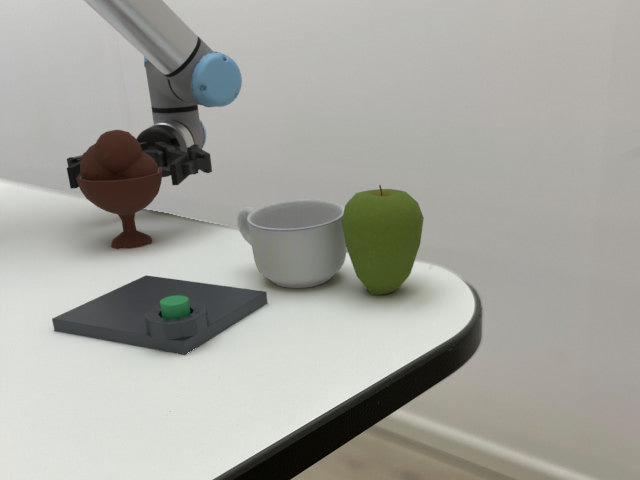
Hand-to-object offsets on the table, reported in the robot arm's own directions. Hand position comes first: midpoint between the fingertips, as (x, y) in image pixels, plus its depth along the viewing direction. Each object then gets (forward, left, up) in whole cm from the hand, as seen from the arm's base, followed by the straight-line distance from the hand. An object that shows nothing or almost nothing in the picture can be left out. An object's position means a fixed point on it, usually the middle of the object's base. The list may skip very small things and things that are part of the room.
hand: (122, 176), depth 100 cm
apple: (+40, -6, -9) cm, 42 cm away
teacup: (+28, -5, -9) cm, 30 cm away
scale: (+22, -21, -9) cm, 32 cm away
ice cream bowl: (0, 0, -9) cm, 9 cm away
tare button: (+28, -25, -6) cm, 38 cm away
